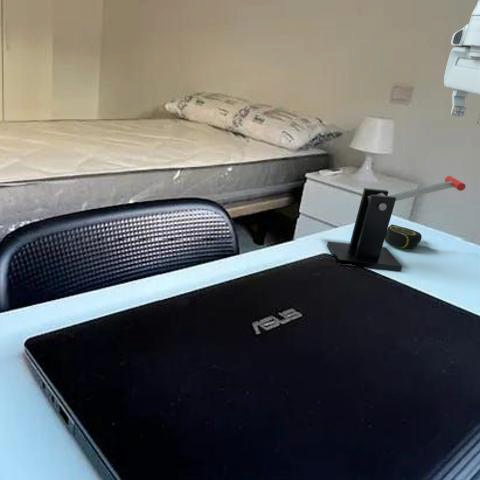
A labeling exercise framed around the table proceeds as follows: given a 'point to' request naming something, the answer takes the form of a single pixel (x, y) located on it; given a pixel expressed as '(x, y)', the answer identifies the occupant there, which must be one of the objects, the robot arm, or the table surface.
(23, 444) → the table surface
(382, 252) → the bracket
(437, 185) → the lever
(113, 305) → the table surface
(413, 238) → the tape measure
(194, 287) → the table surface
